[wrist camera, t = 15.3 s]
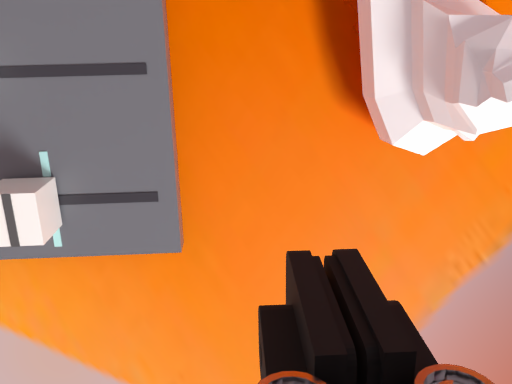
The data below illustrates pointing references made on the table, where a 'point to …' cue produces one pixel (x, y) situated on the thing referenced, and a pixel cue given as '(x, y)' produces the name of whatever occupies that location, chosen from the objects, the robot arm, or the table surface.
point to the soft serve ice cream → (435, 70)
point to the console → (92, 122)
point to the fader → (28, 211)
